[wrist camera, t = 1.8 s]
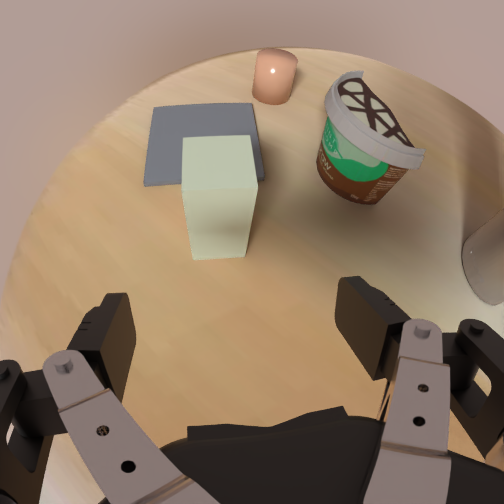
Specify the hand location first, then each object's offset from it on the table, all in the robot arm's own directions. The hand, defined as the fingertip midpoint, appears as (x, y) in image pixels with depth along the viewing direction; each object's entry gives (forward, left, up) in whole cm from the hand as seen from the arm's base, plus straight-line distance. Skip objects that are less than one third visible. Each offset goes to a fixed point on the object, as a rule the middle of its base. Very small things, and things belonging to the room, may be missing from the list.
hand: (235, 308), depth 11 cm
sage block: (0, -10, -14) cm, 17 cm away
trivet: (+1, -22, -14) cm, 26 cm away
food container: (-13, -17, -14) cm, 26 cm away
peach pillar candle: (-8, -31, -14) cm, 35 cm away
